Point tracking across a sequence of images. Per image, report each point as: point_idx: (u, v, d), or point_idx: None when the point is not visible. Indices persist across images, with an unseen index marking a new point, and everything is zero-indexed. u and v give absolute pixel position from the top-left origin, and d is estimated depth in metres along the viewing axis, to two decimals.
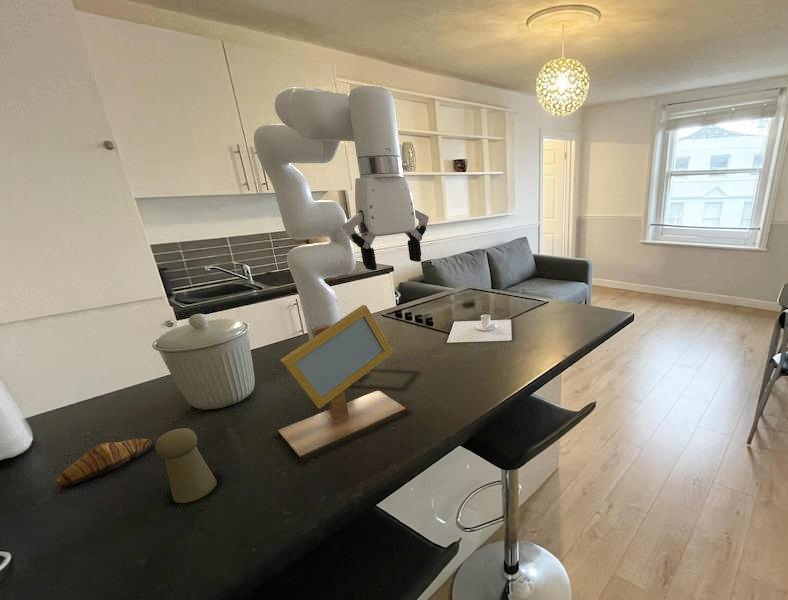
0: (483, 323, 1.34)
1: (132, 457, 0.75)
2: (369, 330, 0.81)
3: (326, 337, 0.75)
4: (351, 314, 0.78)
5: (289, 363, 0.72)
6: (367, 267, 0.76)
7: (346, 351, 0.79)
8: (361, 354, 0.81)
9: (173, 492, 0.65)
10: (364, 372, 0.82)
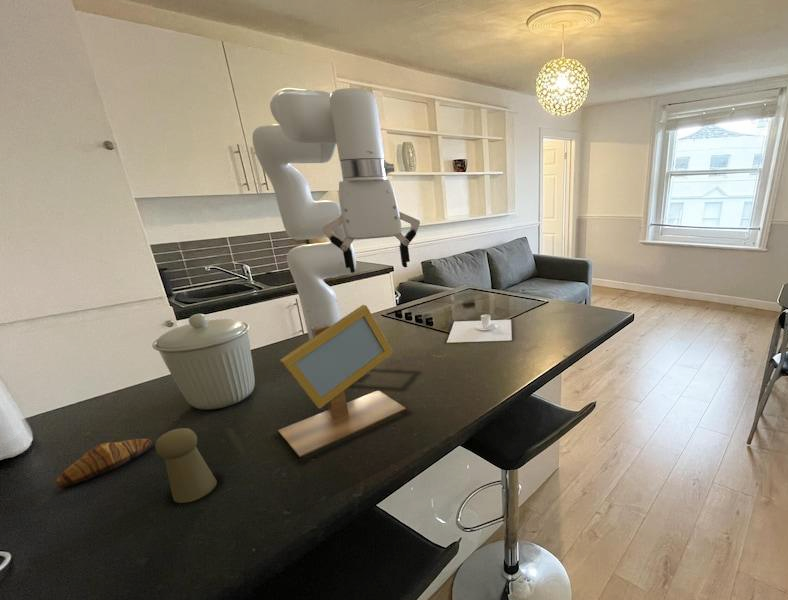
0: (483, 323, 1.34)
1: (132, 457, 0.75)
2: (369, 330, 0.81)
3: (326, 337, 0.75)
4: (351, 314, 0.78)
5: (289, 363, 0.72)
6: None
7: (346, 351, 0.79)
8: (361, 354, 0.81)
9: (173, 492, 0.65)
10: (364, 372, 0.82)
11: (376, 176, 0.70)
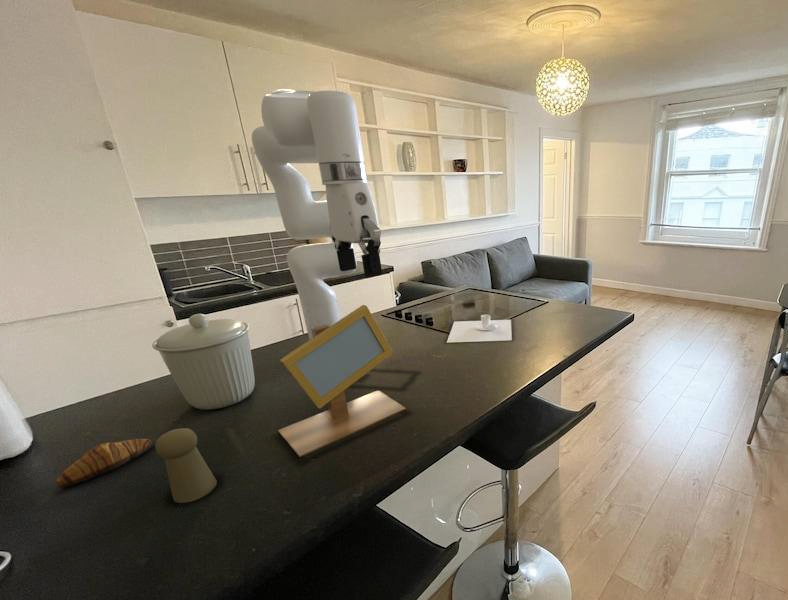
0: (483, 323, 1.34)
1: (132, 457, 0.75)
2: (369, 330, 0.81)
3: (326, 337, 0.75)
4: (351, 314, 0.78)
5: (289, 363, 0.72)
6: None
7: (346, 351, 0.79)
8: (361, 354, 0.81)
9: (173, 492, 0.65)
10: (364, 372, 0.82)
11: (331, 180, 0.68)
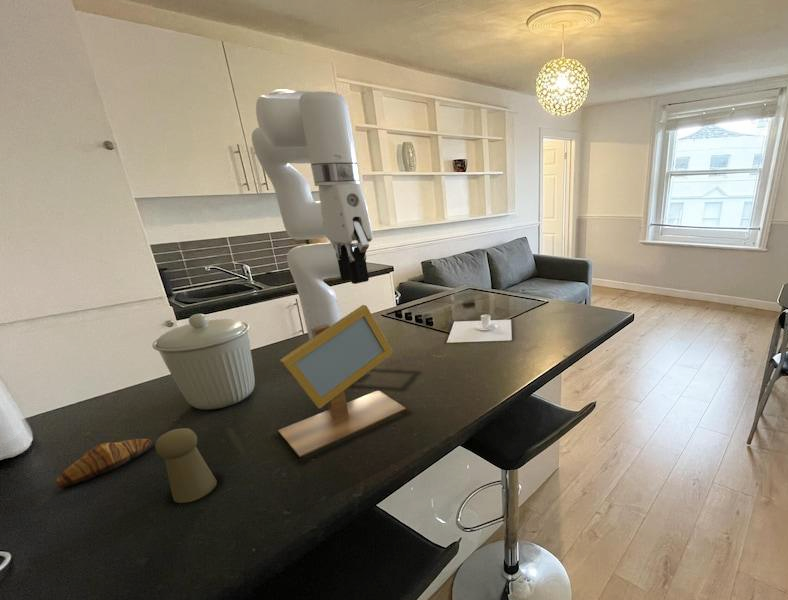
0: (483, 323, 1.34)
1: (132, 457, 0.75)
2: (369, 330, 0.81)
3: (326, 337, 0.75)
4: (351, 314, 0.78)
5: (289, 363, 0.72)
6: None
7: (346, 351, 0.79)
8: (361, 354, 0.81)
9: (173, 492, 0.65)
10: (364, 372, 0.82)
11: (322, 182, 0.67)
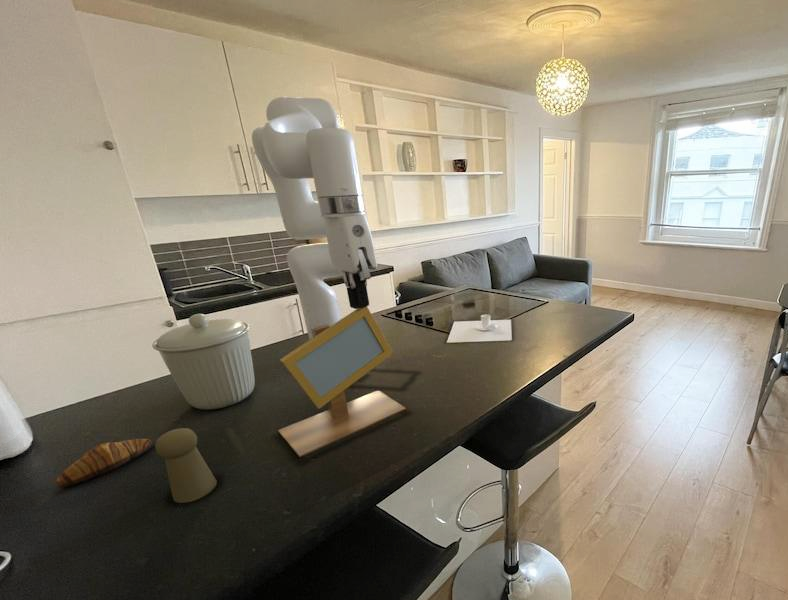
0: (483, 323, 1.34)
1: (132, 457, 0.75)
2: (369, 330, 0.81)
3: (326, 337, 0.75)
4: (351, 314, 0.78)
5: (289, 363, 0.72)
6: None
7: (346, 351, 0.79)
8: (361, 354, 0.81)
9: (173, 492, 0.65)
10: (364, 372, 0.82)
11: (329, 214, 0.69)
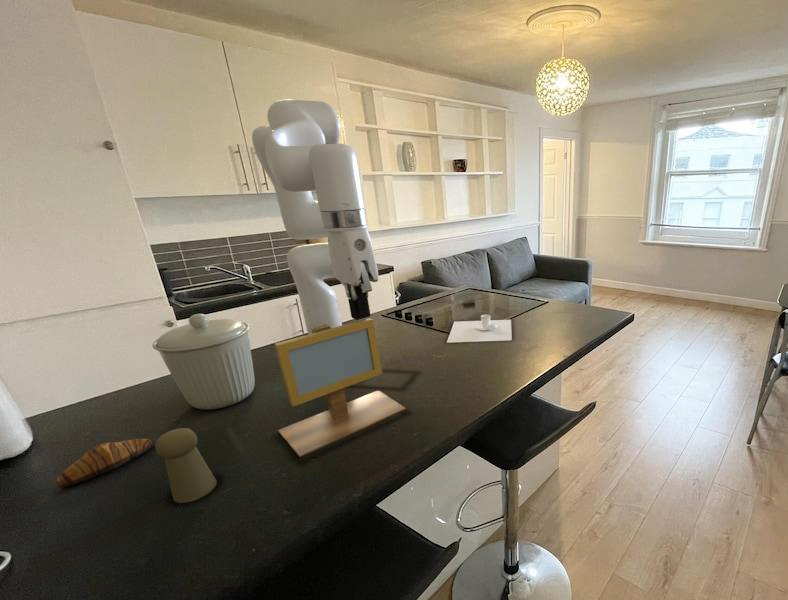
0: (483, 323, 1.34)
1: (132, 457, 0.75)
2: (367, 344, 0.82)
3: (326, 336, 0.75)
4: (356, 323, 0.79)
5: (282, 349, 0.70)
6: None
7: (339, 357, 0.78)
8: (351, 365, 0.81)
9: (173, 492, 0.65)
10: (349, 384, 0.81)
11: (331, 228, 0.70)
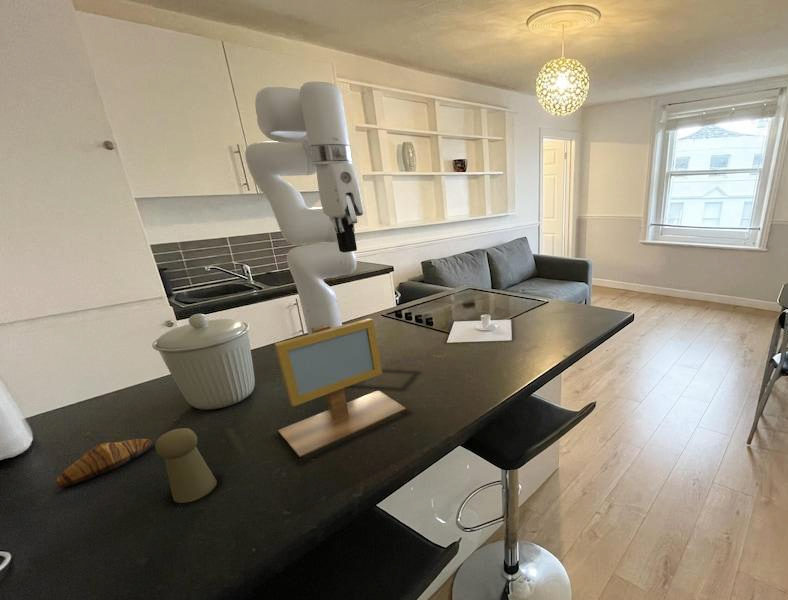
0: (483, 323, 1.34)
1: (132, 457, 0.75)
2: (367, 344, 0.82)
3: (326, 336, 0.75)
4: (356, 323, 0.79)
5: (282, 349, 0.70)
6: None
7: (339, 357, 0.78)
8: (351, 365, 0.81)
9: (173, 492, 0.65)
10: (349, 384, 0.81)
11: (319, 161, 0.77)
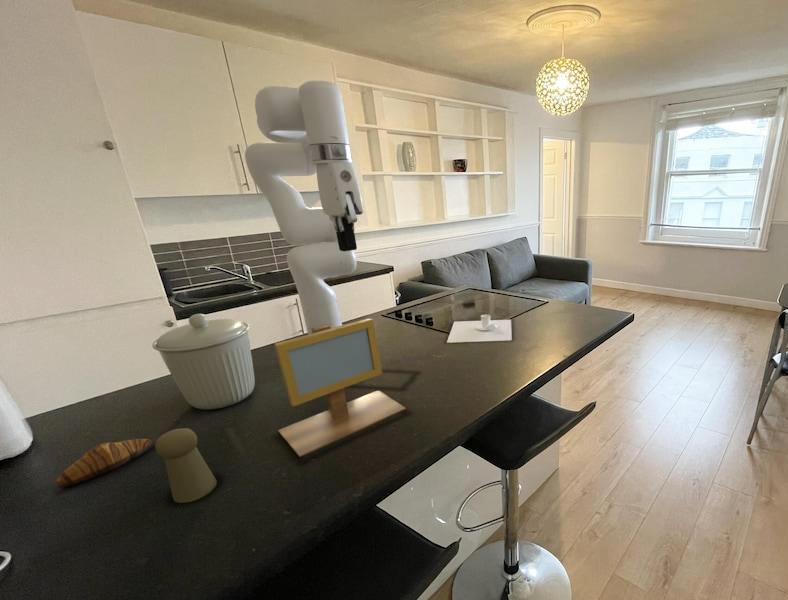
0: (483, 323, 1.34)
1: (132, 457, 0.75)
2: (367, 344, 0.82)
3: (326, 336, 0.75)
4: (356, 323, 0.79)
5: (282, 349, 0.70)
6: None
7: (339, 357, 0.78)
8: (351, 365, 0.81)
9: (173, 492, 0.65)
10: (349, 384, 0.81)
11: (319, 160, 0.77)
